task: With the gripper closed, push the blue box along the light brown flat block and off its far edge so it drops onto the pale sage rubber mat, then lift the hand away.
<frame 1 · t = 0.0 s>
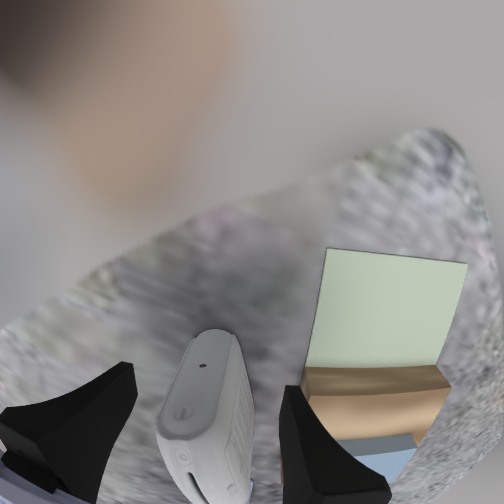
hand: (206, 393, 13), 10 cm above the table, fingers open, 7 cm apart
mat: (391, 315, 22), on the table
light brown flat block: (354, 419, 25), on the table
photo printer: (225, 375, 24), on the table
blue box: (358, 457, 22), point 4 cm above the table, touching light brown flat block
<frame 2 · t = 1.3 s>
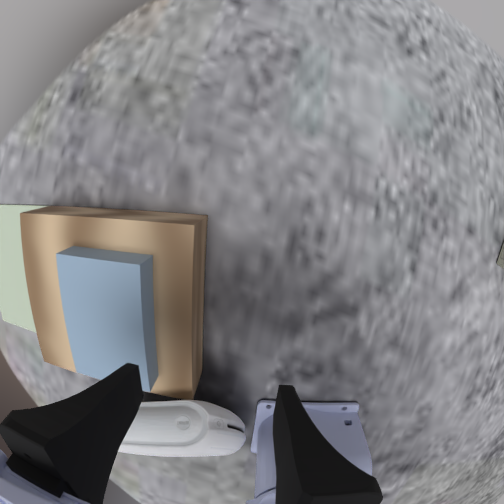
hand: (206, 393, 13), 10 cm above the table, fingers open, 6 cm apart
mat: (20, 271, 23), on the table
light brown flat block: (119, 290, 22), on the table
photo printer: (111, 430, 22), point 4 cm above the table, touching light brown flat block
blue box: (114, 314, 18), point 4 cm above the table, touching light brown flat block
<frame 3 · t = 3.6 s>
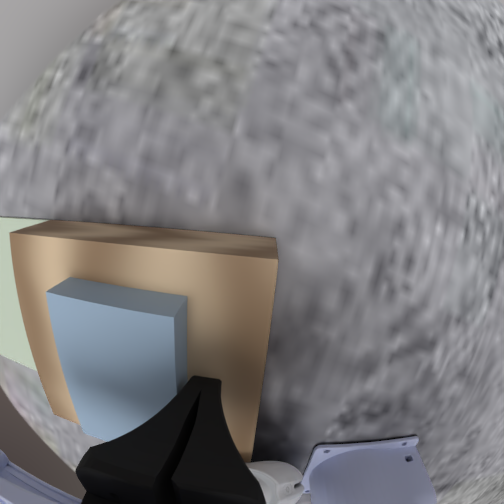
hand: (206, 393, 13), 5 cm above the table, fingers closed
mat: (16, 300, 18), on the table
light brown flat block: (149, 331, 17), on the table
photo printer: (140, 486, 17), point 4 cm above the table, touching light brown flat block
blue box: (130, 368, 13), point 4 cm above the table, touching light brown flat block
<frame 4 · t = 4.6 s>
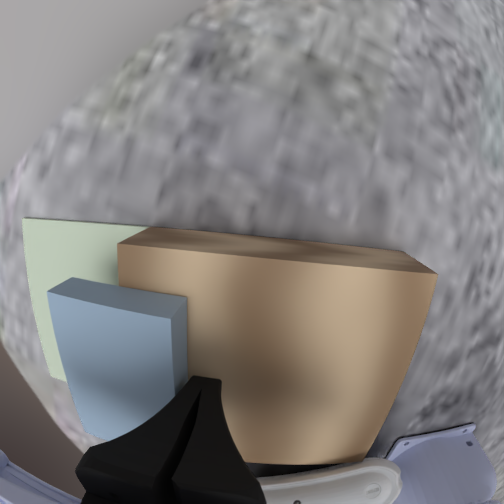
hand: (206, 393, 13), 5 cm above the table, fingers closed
mat: (86, 318, 17), on the table
light brown flat block: (267, 346, 17), on the table
photo printer: (231, 503, 17), point 4 cm above the table, touching light brown flat block
blue box: (131, 368, 13), point 4 cm above the table, touching light brown flat block
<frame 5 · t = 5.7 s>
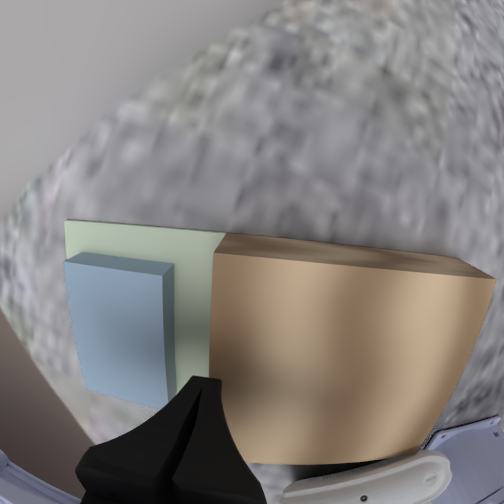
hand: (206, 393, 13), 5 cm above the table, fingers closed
mat: (140, 329, 17), on the table
light brown flat block: (336, 350, 17), on the table
blue box: (115, 343, 15), point 2 cm above the table, tilted 180°, touching mat
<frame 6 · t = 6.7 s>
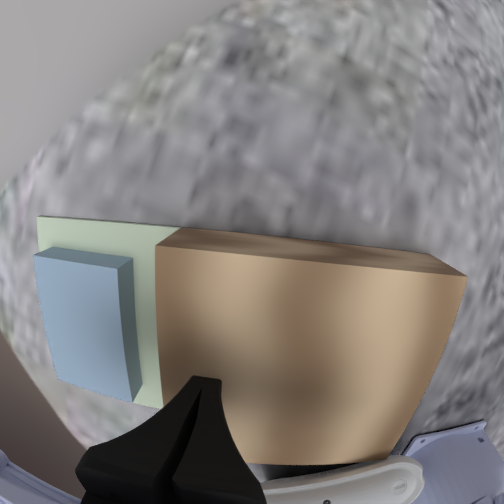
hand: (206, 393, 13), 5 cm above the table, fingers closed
mat: (106, 322, 17), on the table
light brown flat block: (297, 348, 17), on the table
blue box: (79, 334, 15), point 2 cm above the table, tilted 180°, touching mat
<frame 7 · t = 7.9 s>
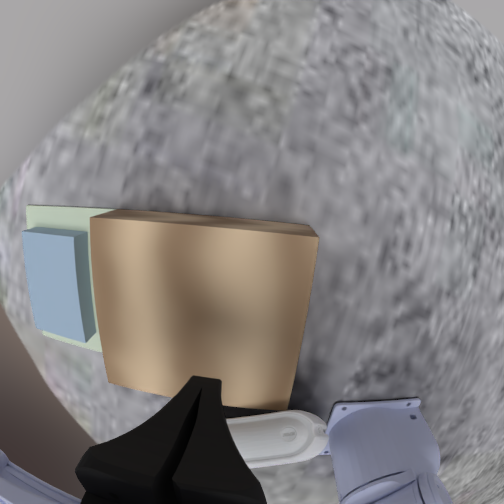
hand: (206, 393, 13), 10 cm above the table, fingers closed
mat: (71, 281, 22), on the table
light brown flat block: (203, 302, 22), on the table
photo printer: (182, 448, 22), point 4 cm above the table, touching light brown flat block
blue box: (50, 288, 20), point 2 cm above the table, tilted 180°, touching mat
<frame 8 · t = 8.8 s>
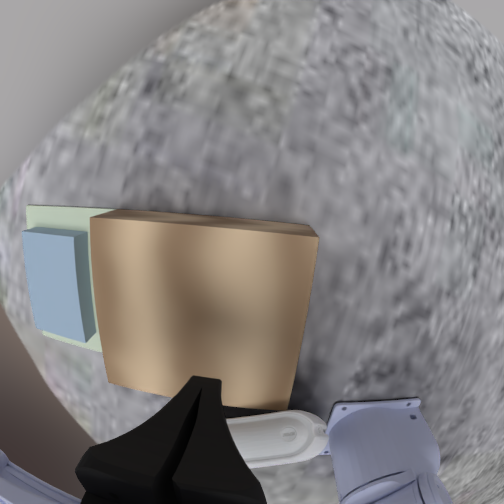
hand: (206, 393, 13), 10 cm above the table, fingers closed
mat: (71, 281, 22), on the table
light brown flat block: (203, 302, 22), on the table
photo printer: (182, 448, 22), point 4 cm above the table, touching light brown flat block
blue box: (50, 288, 20), point 2 cm above the table, tilted 180°, touching mat
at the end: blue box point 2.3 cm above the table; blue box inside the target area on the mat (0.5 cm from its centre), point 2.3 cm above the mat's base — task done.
